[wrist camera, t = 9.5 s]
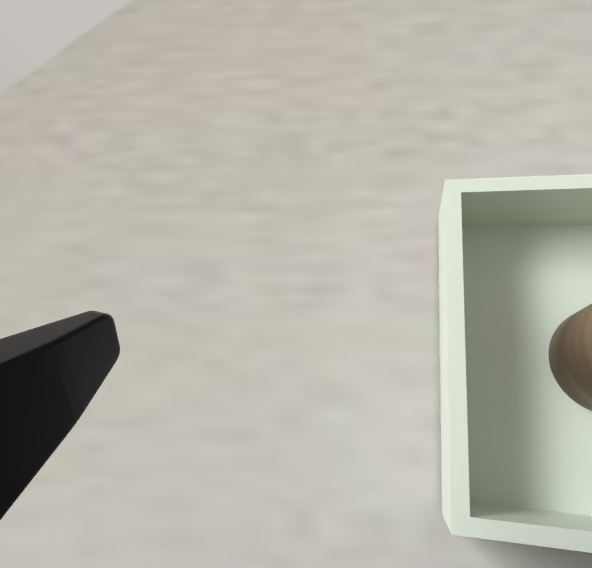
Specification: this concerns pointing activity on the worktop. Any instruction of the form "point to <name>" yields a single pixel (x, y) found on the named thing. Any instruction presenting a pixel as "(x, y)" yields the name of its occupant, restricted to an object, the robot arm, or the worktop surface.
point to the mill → (574, 356)
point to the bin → (513, 359)
